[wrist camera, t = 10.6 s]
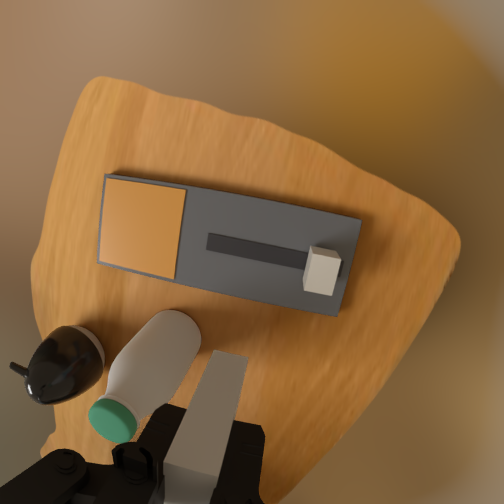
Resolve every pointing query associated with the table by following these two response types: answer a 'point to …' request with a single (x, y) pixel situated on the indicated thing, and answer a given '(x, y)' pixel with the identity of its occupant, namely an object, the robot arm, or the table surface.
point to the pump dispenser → (63, 366)
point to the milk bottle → (146, 374)
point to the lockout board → (221, 241)
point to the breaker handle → (321, 270)
